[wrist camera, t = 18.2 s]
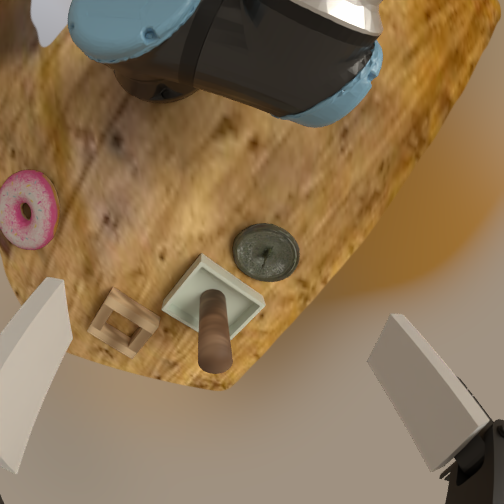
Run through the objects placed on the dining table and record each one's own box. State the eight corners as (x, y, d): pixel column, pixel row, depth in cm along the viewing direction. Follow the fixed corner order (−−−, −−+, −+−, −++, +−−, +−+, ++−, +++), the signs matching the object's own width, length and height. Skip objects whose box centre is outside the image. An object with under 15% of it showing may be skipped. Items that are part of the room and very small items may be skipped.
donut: (12, 243, 41) (-2, 253, 36) (3, 171, 36) (-13, 177, 31) (69, 243, 43) (56, 255, 38) (62, 164, 38) (47, 169, 33)
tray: (163, 299, 49) (161, 309, 46) (201, 253, 47) (201, 261, 44) (223, 335, 53) (223, 346, 51) (262, 295, 51) (265, 305, 48)
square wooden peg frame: (91, 321, 49) (86, 331, 46) (113, 286, 47) (108, 295, 44) (135, 348, 52) (132, 359, 50) (160, 317, 50) (158, 327, 47)
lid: (304, 259, 49) (313, 272, 45) (253, 288, 50) (257, 304, 46) (275, 206, 45) (282, 215, 41) (219, 238, 46) (220, 251, 42)
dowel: (194, 302, 49) (191, 364, 36) (210, 284, 48) (211, 344, 35) (215, 315, 51) (218, 377, 37) (230, 298, 50) (239, 359, 36)
